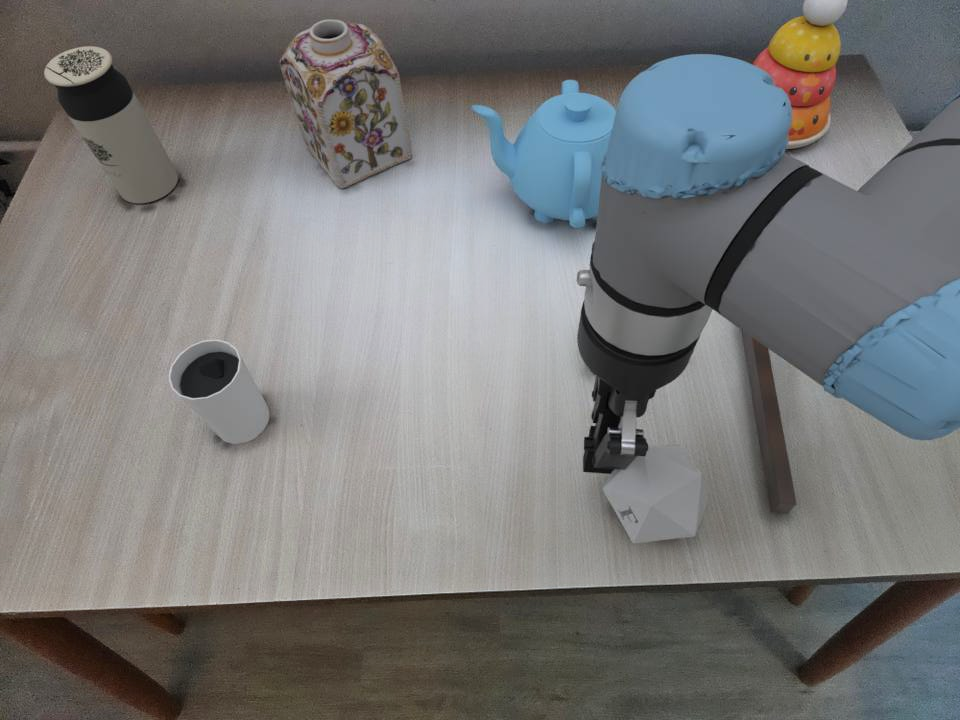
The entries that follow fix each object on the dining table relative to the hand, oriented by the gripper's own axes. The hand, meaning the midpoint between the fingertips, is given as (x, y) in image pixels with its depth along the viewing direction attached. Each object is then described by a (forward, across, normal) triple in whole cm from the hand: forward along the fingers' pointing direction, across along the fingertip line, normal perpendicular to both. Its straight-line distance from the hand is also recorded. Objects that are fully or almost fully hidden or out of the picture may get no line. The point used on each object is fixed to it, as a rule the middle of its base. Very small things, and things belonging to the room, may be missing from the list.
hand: (597, 465), depth 60 cm
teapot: (+4, -40, -3) cm, 40 cm away
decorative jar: (+4, -47, -33) cm, 57 cm away
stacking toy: (+4, -56, +25) cm, 62 cm away
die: (+4, +2, +5) cm, 7 cm away
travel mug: (+4, -39, -61) cm, 72 cm away
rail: (+3, -20, +17) cm, 27 cm away
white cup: (+4, -4, -37) cm, 37 cm away
